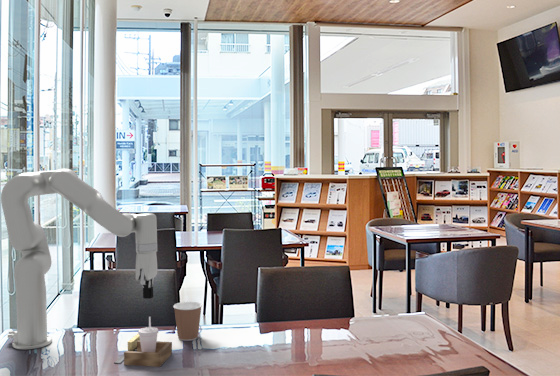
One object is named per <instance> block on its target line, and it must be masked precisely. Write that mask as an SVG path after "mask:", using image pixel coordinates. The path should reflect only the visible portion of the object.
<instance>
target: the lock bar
mask: <svg viewBox="0 0 560 376" xmlns="http://www.w3.org/2000/svg"><path fill="white" fill-rule="evenodd" d="M138 340H139V341H140V336H139V334H138V333H137V334H136V335H134V336H133V337H131V338H130V339H129V340H128V341H127V351H132V350H134V349H135V348H136V347H137V341H138Z"/></svg>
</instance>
